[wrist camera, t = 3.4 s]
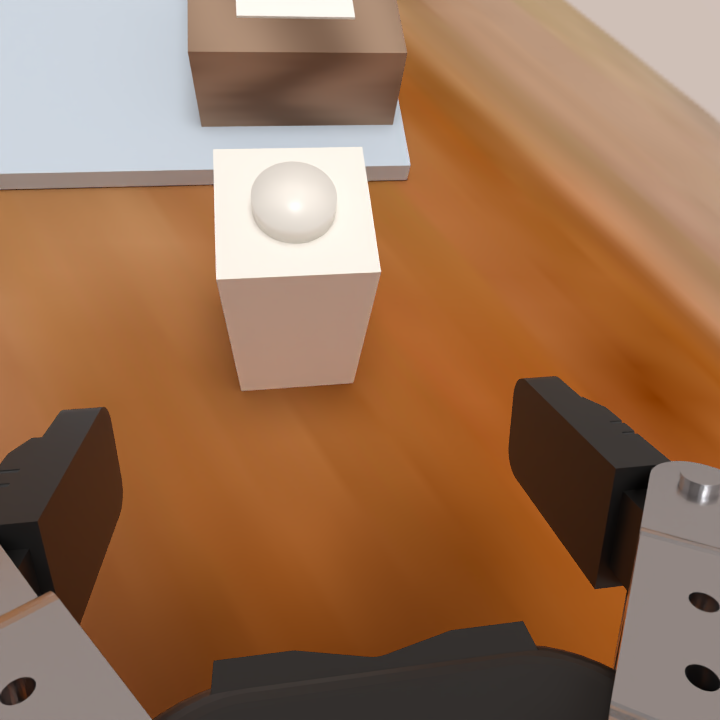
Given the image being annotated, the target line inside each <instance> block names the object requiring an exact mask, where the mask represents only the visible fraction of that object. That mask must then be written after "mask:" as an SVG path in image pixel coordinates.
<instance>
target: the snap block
mask: <svg viewBox="0 0 720 720" xmlns="http://www.w3.org/2000/svg"><path fill="white" fill-rule="evenodd" d="M213 168H214V208H215V248H216V281H217V285H218V289H219V294H220V298H221V303H222V307H223V312H224V316H225V321H226V325H227V330H228V334H229V339H230V343H231V347H232V352H233V356H234V361H235V365H236V370H237V374H238V379H239V383H240V388H241V391H248V390H263V389H277V388H291V387H305V386H319V385H333V384H347V383H353V382H354V378H355V374H356V370H357V366H358V362H359V358H360V354H361V350H362V346H363V342H364V338H365V334H366V330H367V326H368V322H369V318H370V314H371V310H372V306H373V302H374V298H375V294H376V290H377V286H378V282H379V278H380V274H381V269H380V262H379V256H378V249H377V242H376V236H375V229H374V222H373V216H372V209H371V202H370V196H369V189H368V182H367V175H366V169H365V162H364V155H363V149H362V147H324V148H262V149H213Z"/></svg>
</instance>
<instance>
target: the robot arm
mask: <svg viewBox="0 0 720 720" xmlns="http://www.w3.org/2000/svg"><path fill="white" fill-rule="evenodd" d="M621 421H622V420H620V419H619V418H618V417H617V416H616V415H614V414H613V413H612V412H611V411H610V410H608V409H607V408H606V407H604V406H601V405H599V404H597V403H595V402H593V401H590V400H588V399H586V398H584V397H580V396H579V395H578V394H577V393H576V392H575V391H573V390H572V389H571V388H570V387H569V386H568V385H566V384H565V383H564V382H563V381H562V380H561V379H559V378H558V377H556V376H552V377H538V378H523V379H519V380H518V381H517V383H516V385H515V389H514V396H513V406H512V417H511V427H510V438H509V460H510V465H511V469H512V472H513V474H514V476H515V478H516V479H517V481H518V482H519V483H520V485H521V486H522V488H523V489H524V490H525V492H526V493H527V495H528V496H529V497H530V499H531V500H532V502H533V503H534V504H535V506H536V507H537V509H538V510H539V511H540V513H541V514H542V516H543V517H544V518H545V520H546V521H547V523H548V524H549V525H550V527H551V528H552V530H553V531H554V532H555V534H556V535H557V537H558V538H559V539H560V541H561V542H562V544H563V545H564V546H565V548H566V549H567V551H568V552H569V553H570V555H571V556H572V558H573V559H574V560H575V562H576V563H577V565H578V566H579V567H580V569H581V570H582V572H583V573H584V574H585V576H586V577H587V579H588V580H589V581H590V583H591V584H592V586H593V587H594V588H595V589H599V588H608V587H616V586H624V587H625V588H626V590H627V593H626V598H625V603H624V608H623V614H622V619H621V625H620V630H619V636H618V641H617V647H616V652H615V657H614V663H613V668H610V667H608V666H606V665H604V664H602V663H600V662H597V661H595V660H592V659H589V658H587V657H584V656H582V655H578V654H575V653H571V652H568V651H565V650H560V649H555V648H550V647H545V646H536V645H535V643H534V641H533V640H532V638H531V636H530V634H529V632H528V630H527V628H526V626H525V624H524V622H523V621H520V622H513V623H505V624H497V625H489V626H481V627H474V628H466V629H458V630H451V631H448V632H445V633H443V634H440V635H437V636H435V637H432V638H429V639H427V640H424V641H421V642H419V643H416V644H413V645H411V646H408V647H405V648H402V649H400V650H397V651H394V652H392V653H389V654H386V655H383V656H379V657H362V656H351V655H339V654H328V653H316V652H305V651H286V652H279V653H271V654H263V655H255V656H247V657H240V658H232V659H224V660H216V661H214V663H213V674H212V685H211V689H208V690H206V691H203V692H200V693H198V694H196V695H194V696H192V697H190V698H188V699H185V700H183V701H181V702H179V703H178V704H176V705H174V706H173V707H171V708H169V709H168V710H166V711H165V712H163V713H161V714H160V715H158V716H157V717H155V718H154V719H153V720H720V470H719V469H716V468H713V467H710V466H707V465H703V464H699V463H693V462H685V461H672V462H671V461H670V460H669V459H667V458H666V457H665V456H664V455H663V454H661V453H660V452H659V451H658V450H657V449H655V448H654V447H653V446H652V445H651V444H649V443H648V442H647V441H646V440H645V439H643V438H642V437H641V436H640V435H638V434H635V433H634V430H632V429H631V428H630V427H629V426H628V425H626V424H625V423H622V422H621ZM122 498H123V488H122V478H121V473H120V467H119V462H118V456H117V450H116V445H115V439H114V434H113V428H112V423H111V418H110V415H109V412H108V410H107V409H106V408H105V407H99V408H85V409H71V410H62V411H61V412H60V413H59V414H58V415H57V417H56V418H55V420H54V421H53V423H52V424H51V425H50V427H49V428H48V430H47V431H46V433H45V434H44V435H43V437H40V438H31V439H30V440H28V441H27V442H25V443H24V444H22V445H21V446H19V447H18V448H16V449H14V450H13V451H11V452H10V453H8V455H7V456H6V457H5V458H4V460H3V461H2V462H1V464H0V720H152V719H151V718H150V716H149V715H148V714H147V713H146V711H145V710H144V709H143V707H142V706H141V705H140V703H139V702H138V701H137V700H136V698H135V697H134V696H133V694H132V693H131V692H130V690H129V689H128V688H127V687H126V685H125V684H124V683H123V681H122V680H121V679H120V677H119V676H118V675H117V674H116V672H115V671H114V670H113V668H112V667H111V666H110V664H109V663H108V662H107V661H106V659H105V658H104V657H103V655H102V654H101V653H100V651H99V650H98V649H97V647H96V646H95V645H94V644H93V642H92V641H91V640H90V638H89V637H88V636H87V634H86V633H85V632H84V631H83V629H82V628H81V627H80V622H81V620H82V617H83V614H84V611H85V609H86V606H87V603H88V600H89V598H90V595H91V592H92V589H93V587H94V584H95V581H96V578H97V576H98V573H99V570H100V567H101V565H102V562H103V559H104V556H105V554H106V551H107V548H108V545H109V543H110V540H111V537H112V534H113V532H114V529H115V526H116V523H117V521H118V518H119V515H120V512H121V507H122Z"/></svg>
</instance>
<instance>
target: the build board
mask: <svg viewBox="0 0 720 720" xmlns="http://www.w3.org/2000/svg"><path fill="white" fill-rule="evenodd" d="M406 56H407V50H406V45H405V40H404V35H403V30H402V25H401V20H400V15H399V10H398V5H397V0H0V189H41V188H84V187H126V186H168V185H210V184H214V168H213V149H262V148H324V147H362V149H363V155H364V162H365V169H366V175H367V181H379V180H407V177H408V173H409V169H410V166H411V165H410V160H409V155H408V149H407V144H406V138H405V133H404V128H403V122H402V117H401V112H400V106H399V101H398V96H399V91H400V86H401V81H402V76H403V71H404V66H405V61H406Z"/></svg>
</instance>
